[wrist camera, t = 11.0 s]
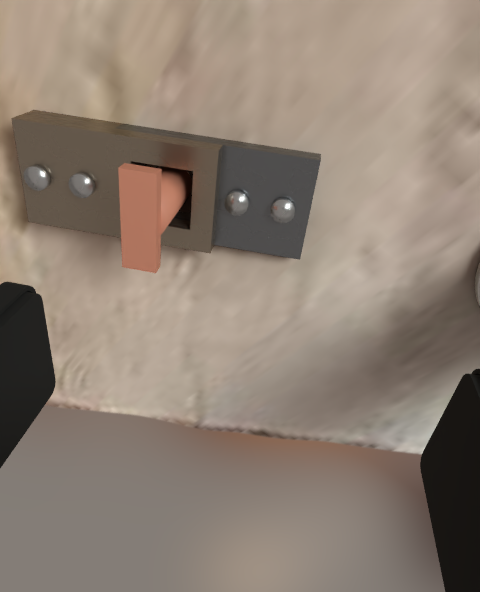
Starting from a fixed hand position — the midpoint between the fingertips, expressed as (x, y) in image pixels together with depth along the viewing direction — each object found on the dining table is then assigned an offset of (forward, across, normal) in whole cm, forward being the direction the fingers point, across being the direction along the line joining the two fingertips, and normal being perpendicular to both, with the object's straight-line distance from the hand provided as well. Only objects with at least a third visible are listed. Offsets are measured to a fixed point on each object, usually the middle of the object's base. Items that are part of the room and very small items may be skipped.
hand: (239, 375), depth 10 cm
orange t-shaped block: (+26, +9, +6) cm, 28 cm away
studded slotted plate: (+26, +9, +6) cm, 28 cm away
